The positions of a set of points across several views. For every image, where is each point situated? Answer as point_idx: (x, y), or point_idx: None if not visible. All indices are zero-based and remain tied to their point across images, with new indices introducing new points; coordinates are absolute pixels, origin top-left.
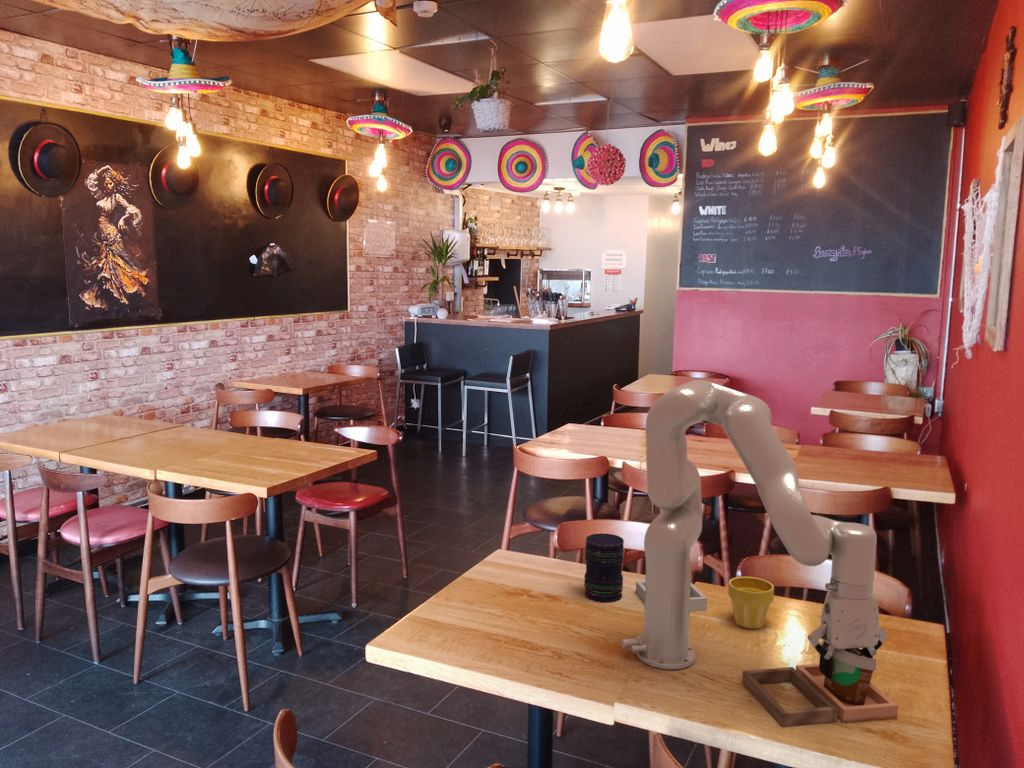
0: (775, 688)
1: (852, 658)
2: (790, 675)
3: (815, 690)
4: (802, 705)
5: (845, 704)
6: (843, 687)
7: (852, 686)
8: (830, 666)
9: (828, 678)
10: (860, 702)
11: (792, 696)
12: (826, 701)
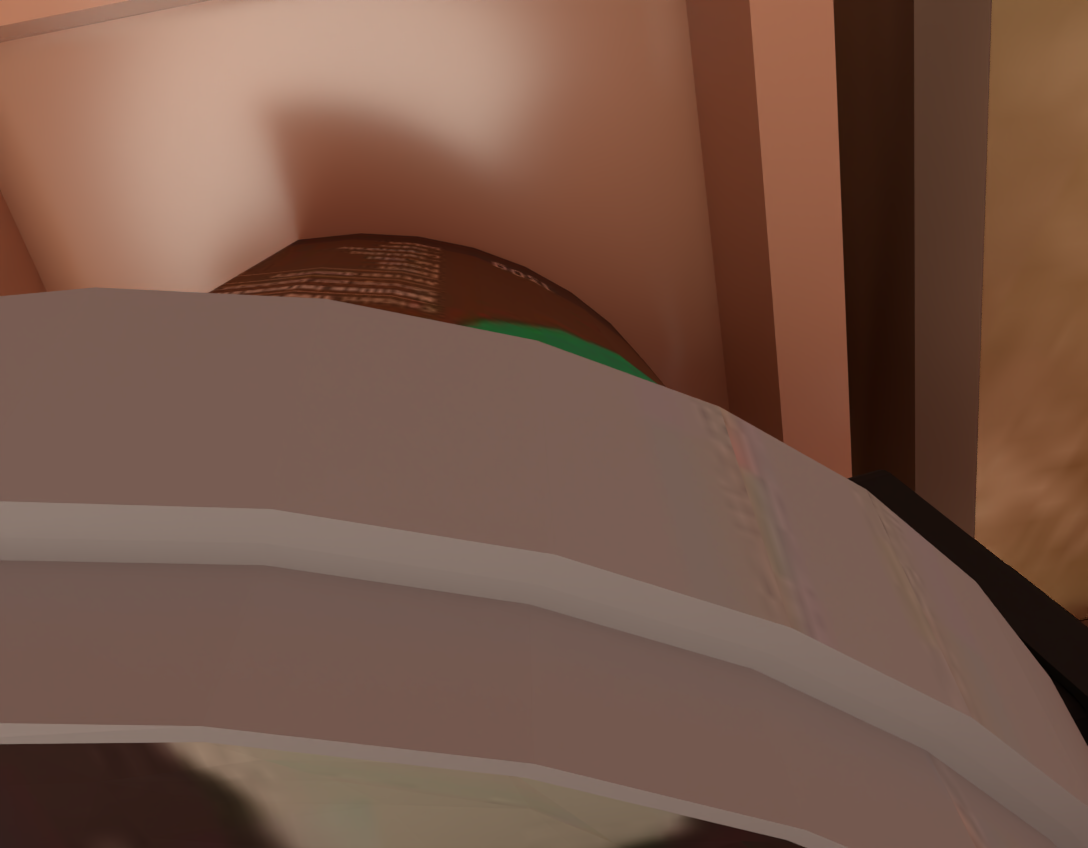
0: (1083, 539)
1: (898, 667)
2: None
3: (945, 363)
4: (1007, 241)
5: (541, 253)
6: (631, 357)
7: (524, 313)
8: (1019, 598)
9: (876, 471)
10: (351, 239)
11: (1010, 415)
12: (957, 58)
